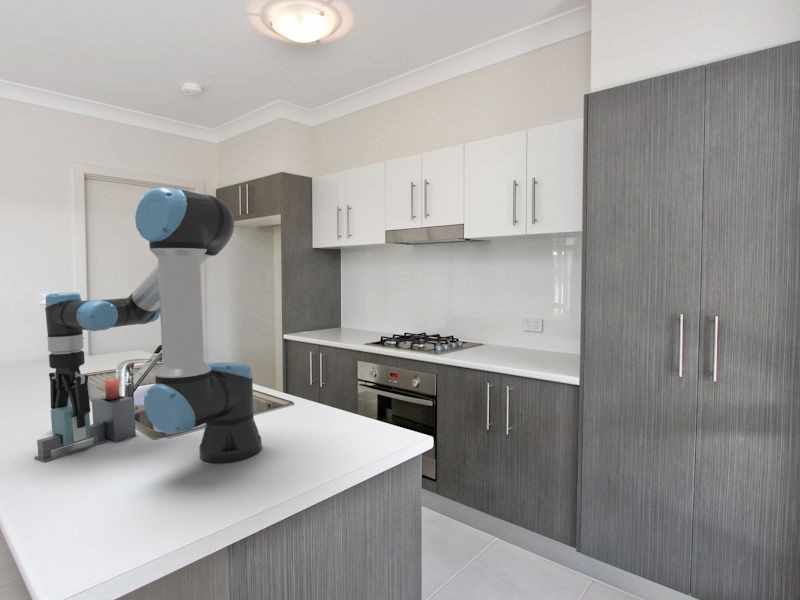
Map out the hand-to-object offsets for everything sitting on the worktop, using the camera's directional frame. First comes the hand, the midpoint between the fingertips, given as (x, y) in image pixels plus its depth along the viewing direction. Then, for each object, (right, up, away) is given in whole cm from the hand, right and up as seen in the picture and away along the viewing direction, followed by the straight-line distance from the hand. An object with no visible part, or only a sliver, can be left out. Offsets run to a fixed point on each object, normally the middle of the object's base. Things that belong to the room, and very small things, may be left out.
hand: (72, 437), depth 122 cm
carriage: (0, -1, 0) cm, 1 cm away
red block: (+5, +9, +9) cm, 14 cm away
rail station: (+2, -3, +3) cm, 5 cm away
